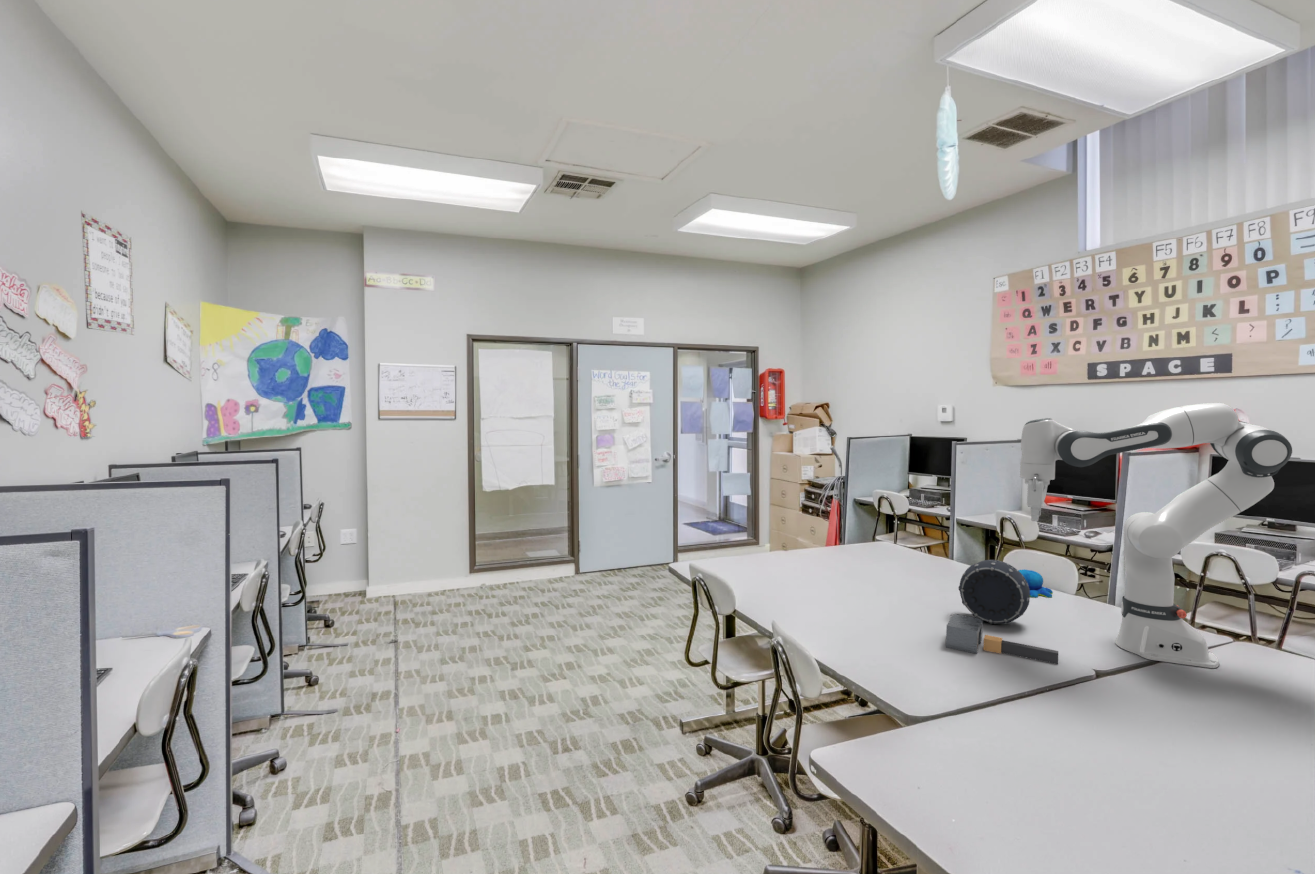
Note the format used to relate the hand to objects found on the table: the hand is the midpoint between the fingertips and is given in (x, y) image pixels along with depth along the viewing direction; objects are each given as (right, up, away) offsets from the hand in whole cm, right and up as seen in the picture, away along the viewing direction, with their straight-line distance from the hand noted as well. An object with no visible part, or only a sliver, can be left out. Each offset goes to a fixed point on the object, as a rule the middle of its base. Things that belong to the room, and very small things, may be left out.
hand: (1035, 518), depth 181 cm
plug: (-11, -37, -11) cm, 40 cm away
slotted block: (-23, -37, -3) cm, 43 cm away
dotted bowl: (-4, -36, +16) cm, 40 cm away
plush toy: (+27, -35, +49) cm, 66 cm away
